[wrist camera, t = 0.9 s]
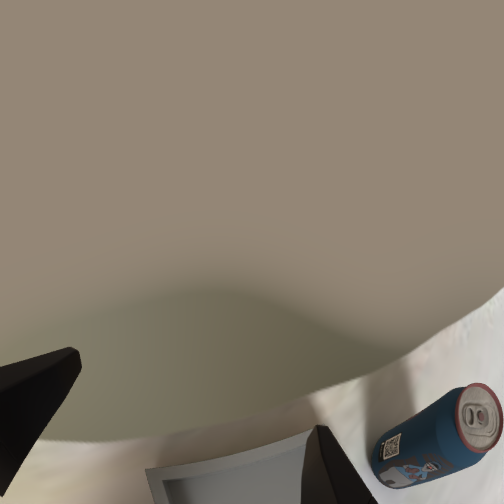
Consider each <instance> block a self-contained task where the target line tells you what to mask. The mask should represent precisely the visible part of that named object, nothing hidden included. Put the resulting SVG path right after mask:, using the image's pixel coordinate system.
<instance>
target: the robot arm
mask: <svg viewBox="0 0 504 504" xmlns="http://www.w3.org/2000/svg"><path fill="white" fill-rule="evenodd" d="M81 368H82V364H81V359H80V354H79V351H78V350H76V349H74V348H72V347H67V348H63V349H60V350H57V351H53V352H50V353H47V354H44V355H40V356H37V357H33V358H30V359H27V360H23V361H19V362H17V363H12V364H9V365H5V366H2V367H0V496H1V497H3V496H4V494H5V492H6V490H7V489H8V487H9V485H10V483H11V482H12V480H13V478H14V477H15V475H16V473H17V471H18V470H19V468H20V467H21V465H22V463H23V461H24V460H25V458H26V457H27V455H28V453H29V452H30V450H31V449H32V447H33V445H34V444H35V442H36V441H37V439H38V438H39V436H40V435H41V433H42V432H43V430H44V429H45V427H46V426H47V424H48V423H49V421H50V420H51V418H52V417H53V416H54V414H55V413H56V411H57V410H58V408H59V407H60V405H61V404H62V403H63V401H64V400H65V398H66V396H67V395H68V393H69V391H70V389H71V388H72V386H73V384H74V382H75V380H76V378H77V377H78V375H79V373H80V372H81ZM301 504H378V503H377V501H376V500H375V498H374V497H373V496H372V494H371V492H370V491H369V489H368V488H367V486H366V485H365V483H364V482H363V480H362V479H361V477H360V476H359V474H358V473H357V471H356V470H355V468H354V466H353V465H352V463H351V462H350V460H349V459H348V457H347V456H346V454H345V452H344V451H343V449H342V448H341V446H340V445H339V443H338V442H337V440H336V438H335V437H334V435H333V434H332V432H331V430H330V429H329V427H328V426H325V425H316V426H315V427H314V428H313V430H312V432H311V433H310V435H309V436H308V438H307V441H306V448H305V456H304V462H303V469H302V476H301Z"/></svg>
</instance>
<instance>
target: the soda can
mask: <svg viewBox="0 0 504 504" xmlns="http://www.w3.org/2000/svg"><path fill="white" fill-rule="evenodd" d="M502 430H503V412H502V407H501V404H500V402H499V400H498V398H497V396H496V395H495V393H494V392H493V391H492V390H491V389H490V388H489V387H488V386H487V385H485V384H482V383H473V384H470V385H468V386H467V387H459V388H455V389H453V390H451V391H449V392H448V393H446V394H445V395H444V396H442V397H441V398H440V399H438V400H437V401H435V402H434V403H433V404H431V405H430V406H428V407H427V408H425V409H424V410H422V411H421V412H419V413H418V414H416V415H414V416H413V417H411V418H410V419H408V420H406V421H405V422H403V423H401V424H400V425H398V426H396V427H394V428H393V429H391V430H389V431H388V432H386V433H385V434H384V435H383V436H382V437H381V438H380V439H379V441H378V442H377V444H376V446H375V448H374V451H373V454H372V470H373V473H374V475H375V476H376V478H377V479H378V480H379V482H381V483H382V484H383V485H385V486H387V487H389V488H393V489H402V488H407V487H411V486H414V485H418V484H422V483H425V482H428V481H432V480H435V479H438V478H441V477H444V476H447V475H450V474H452V473H455V472H458V471H460V470H463V469H465V468H468V467H470V466H472V465H474V464H476V463H477V462H479V461H480V460H481V459H482V458H483V457H484V456H485V454H486V453H487V452H488V451H489V450H491V449H492V448H493V447H494V446H495V445H496V444H497V442H498V441H499V439H500V437H501V434H502Z"/></svg>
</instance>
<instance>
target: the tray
mask: <svg viewBox="0 0 504 504" xmlns="http://www.w3.org/2000/svg"><path fill="white" fill-rule="evenodd" d="M322 425H324V424H322ZM312 430H313V429H310V430H308V431H305V432H303V433H300V434H297V435H295V436H292V437H289V438H286V439H283V440H280V441H277V442H274V443H271V444H268V445H265V446H262V447H258V448H255V449H251V450H248V451H244V452H240V453H237V454H233V455H229V456H224V457H220V458H215V459H211V460H206V461H201V462H195V463H189V464H183V465H177V466H169V467H161V468H152V469H145V472H146V476H147V479H148V483H149V486H150V490H151V493H152V496H153V499H154V502H155V504H301V476H302V469H303V462H304V456H305V448H306V441H307V438H308V436H309V435H310V433H311V432H312Z"/></svg>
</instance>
